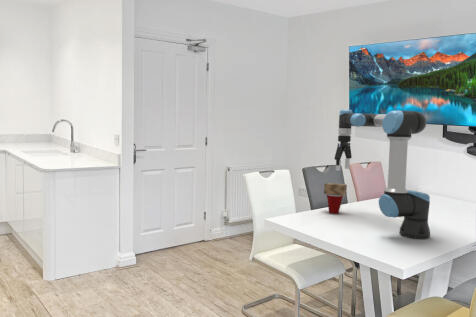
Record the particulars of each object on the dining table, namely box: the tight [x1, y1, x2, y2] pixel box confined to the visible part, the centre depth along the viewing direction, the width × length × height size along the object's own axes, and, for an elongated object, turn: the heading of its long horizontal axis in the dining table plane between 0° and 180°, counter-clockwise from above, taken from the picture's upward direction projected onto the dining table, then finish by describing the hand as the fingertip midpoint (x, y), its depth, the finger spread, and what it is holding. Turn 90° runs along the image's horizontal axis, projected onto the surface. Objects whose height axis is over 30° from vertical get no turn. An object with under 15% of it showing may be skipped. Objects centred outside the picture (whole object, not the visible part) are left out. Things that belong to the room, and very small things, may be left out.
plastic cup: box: [325, 194, 345, 215], centre depth 276 cm, size 11×11×12 cm
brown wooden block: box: [323, 182, 348, 196], centre depth 275 cm, size 12×9×6 cm
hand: (342, 169), depth 273 cm, fingers open, 13 cm apart
